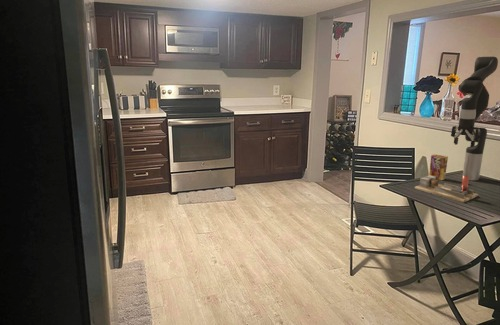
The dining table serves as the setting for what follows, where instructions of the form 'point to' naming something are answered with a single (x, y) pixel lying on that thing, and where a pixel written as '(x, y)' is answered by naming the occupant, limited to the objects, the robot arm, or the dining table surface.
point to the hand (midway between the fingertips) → (463, 145)
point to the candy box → (438, 166)
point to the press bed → (444, 190)
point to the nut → (434, 183)
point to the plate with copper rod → (463, 186)
